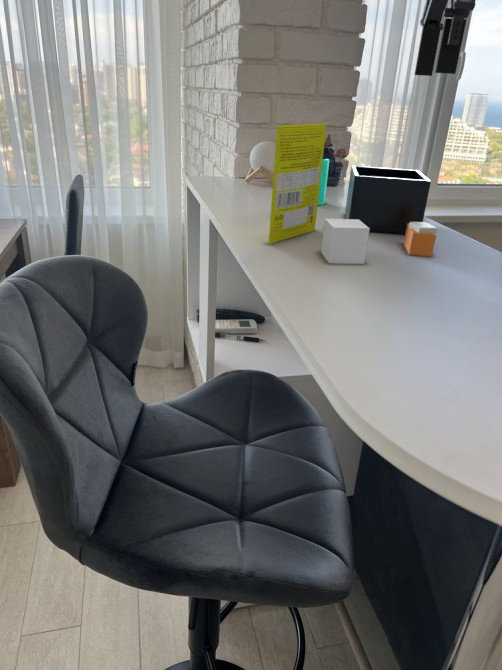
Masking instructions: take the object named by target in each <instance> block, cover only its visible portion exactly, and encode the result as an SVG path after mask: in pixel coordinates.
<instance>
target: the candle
mask: <svg viewBox="0 0 502 670" xmlns="http://www.w3.org/2000/svg"><path fill="white" fill-rule="evenodd" d="M329 167H330V159H329V158H323V161H322V170H321V179H320V188H319V197H318V206H323V205H325V203H326V194H327V185H328V177H329Z"/></svg>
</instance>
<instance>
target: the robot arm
mask: <svg viewBox="0 0 502 670" xmlns="http://www.w3.org/2000/svg"><path fill="white" fill-rule="evenodd" d="M475 7H476V0H425V3H424V7H423V11H422V15H421V19H420V21H419V25H420V26H421V34H420V39H419V46H418V52H417V58H416V64H415V69H414V74H413V75H414V76H425V77H432V76H433V72H434V74H449V75H456V73H457V67H458V64H459V63H458V62H459V58H460V53H461V48H462V43H463V39H464V34H465V28H466V24H467V19H468V17H469V16H470V12H471V11H474V9H475ZM443 18H444V21H443V23H442V20H443ZM441 31H442V32H441ZM440 35H441V37H440ZM439 40H440V42H439ZM438 46H439V47H438ZM437 50H438V53H437ZM436 56H437V57H436ZM435 63H436V64H435ZM434 67H435V68H434Z"/></svg>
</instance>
